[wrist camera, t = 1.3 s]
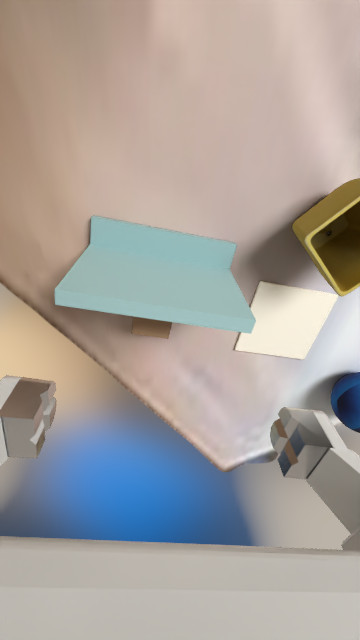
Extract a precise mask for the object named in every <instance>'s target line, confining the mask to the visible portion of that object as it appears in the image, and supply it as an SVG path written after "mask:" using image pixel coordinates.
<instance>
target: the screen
mask: <svg viewBox="0 0 360 640" xmlns="http://www.w3.org/2000/svg"><path fill="white" fill-rule="evenodd" d="M236 246H237V245H236V243H234V242H229V241H223V240H218V239H213V238H208V237H203V236H198V235H192V234H187V233H182V232H177V231H172V230H167V229H161V228H156V227H151V226H146V225H141V224H136V223H130V222H125V221H120V220H115V219H110V218H104V217H99V216H94V215H93V216H92V217H91V238H90V245H89V246H88V248H87V249H86V250H85V251H84V253H83V254H82V255H81V256H80V258H79V259H78V260H77V262H76V263H75V264H74V265H73V267H72V268H71V269H70V270H69V272H68V273H67V274H66V275H65V277H64V278H63V279H62V281H61V282H60V283H59V284H58V286H57V287H56V288H55V305H60V306H67V307H74V308H81V309H87V310H94V311H101V312H108V313H114V314H121V315H128V316H135V317H141V318H148V319H155V320H162V321H168V322H175V323H182V324H189V325H195V326H202V327H209V328H215V329H222V330H229V331H236V332H242V333H249V334H251V333H252V330H253V328H254V325H255V322H256V319H255V317H254V315H253V313H252V311H251V309H250V308H249V306H248V304H247V302H246V300H245V298H244V296H243V294H242V292H241V290H240V288H239V286H238V284H237V282H236V280H235V279H234V277H233V275H232V273H231V271H230V266H231V263H232V259H233V256H234V253H235V250H236Z"/></svg>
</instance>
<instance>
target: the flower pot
mask: <svg viewBox="0 0 360 640" xmlns="http://www.w3.org/2000/svg"><path fill="white" fill-rule="evenodd" d="M292 229H293V231H294V233H295V235H296V236H297V238H298V239H299V241H300V242H301V243H302V245H303V246H304V248H305V249H306V251H307V253H308V254H309V256H310V257H311V259H312V260H313V262H314V264H315V265H316V267H317V268H318V270H319V272H320V273H321V275H322V276H323V277H324V278H325V280H326V281H327V282H328V283H329V285H330V286H331V287H332V288H333V289H334V291H335V292H336V293H337V294H338V295H339V296H345V295H347V294H348V293H350V292H351V291H353V290H355V289H356V288H358V287H359V286H360V178H359V179H354V180H351V181H349V182H346V183H345V184H343V185H341V186H340V187H338V188H337V189H335V190H334V191H333V192H331V193H330V194H329V195H328V196H326V197H325V198H324V199H323V200H321V201H320V202H319V203H317V204H316V205H315V206H314V207H312V208H311V209H310V210H308V211H307V212H306V213H305V214H303V215H302V216H301V217H299V218H298V219H297V220H296V221H295V222H294V223H293V225H292ZM328 231H331V234H330V235H327V232H328Z"/></svg>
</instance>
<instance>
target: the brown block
mask: <svg viewBox="0 0 360 640" xmlns="http://www.w3.org/2000/svg"><path fill="white" fill-rule="evenodd" d="M171 324H172V322H168V321H162V320H155V319H148V318H141V317H135V316H133V324H132V331H131V334H138V335H145V336H153V337H160V338H167V339H168V338H169V334H170V329H171Z"/></svg>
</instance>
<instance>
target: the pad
mask: <svg viewBox="0 0 360 640" xmlns="http://www.w3.org/2000/svg"><path fill="white" fill-rule="evenodd" d="M337 298H338V295H337V294H332V293H326V292H320V291H315V290H309V289H303V288H298V287H292V286H286V285H281V284H275V283H269V282H263V281H260V282H259V284H258V287H257V290H256V292H255V295H254V298H253V300H252V303H251V306H250V309H251V311H252V313H253V315H254V317H255V319H256V322H255V325H254V328H253V330H252V333H251V334H249V333H242V332H241V333H240V335H239V338H238V341H237V343H236V346H235V350H239V351H246V352H253V353H260V354H268V355H275V356H282V357H289V358H296V359H304V358H305V357H306V355H307V353H308V351H309V349H310V347H311V346H312V344H313V342H314V340H315V338H316V336H317V335H318V333H319V331H320V329H321V327H322V325H323V324H324V322H325V320H326V318H327V316H328V314H329V313H330V311H331V309H332V307H333V305H334V303H335V302H336V300H337Z"/></svg>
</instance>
